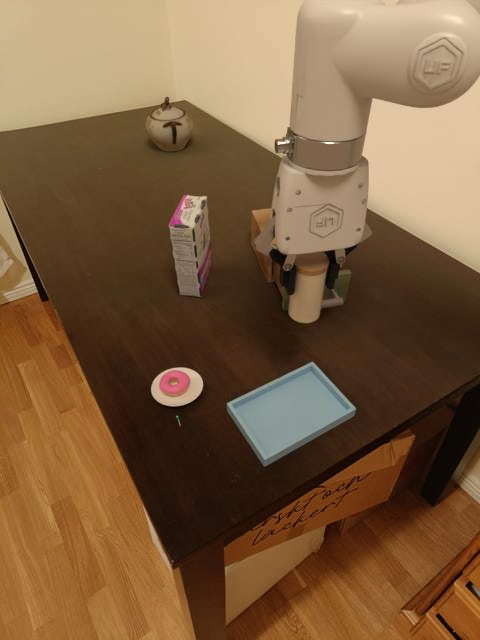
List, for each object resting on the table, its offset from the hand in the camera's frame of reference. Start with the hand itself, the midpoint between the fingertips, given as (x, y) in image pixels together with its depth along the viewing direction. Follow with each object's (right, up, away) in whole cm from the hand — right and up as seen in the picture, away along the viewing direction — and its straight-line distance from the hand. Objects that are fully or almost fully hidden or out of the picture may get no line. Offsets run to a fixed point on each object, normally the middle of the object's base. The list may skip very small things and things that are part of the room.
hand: (307, 284), depth 56 cm
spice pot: (0, -4, +3) cm, 5 cm away
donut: (-18, -17, +12) cm, 28 cm away
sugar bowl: (-31, +51, +83) cm, 102 cm away
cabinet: (+2, +9, +38) cm, 39 cm away
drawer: (+5, +1, +29) cm, 29 cm away
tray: (-1, -19, +10) cm, 21 cm away
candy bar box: (-18, +4, +33) cm, 38 cm away
